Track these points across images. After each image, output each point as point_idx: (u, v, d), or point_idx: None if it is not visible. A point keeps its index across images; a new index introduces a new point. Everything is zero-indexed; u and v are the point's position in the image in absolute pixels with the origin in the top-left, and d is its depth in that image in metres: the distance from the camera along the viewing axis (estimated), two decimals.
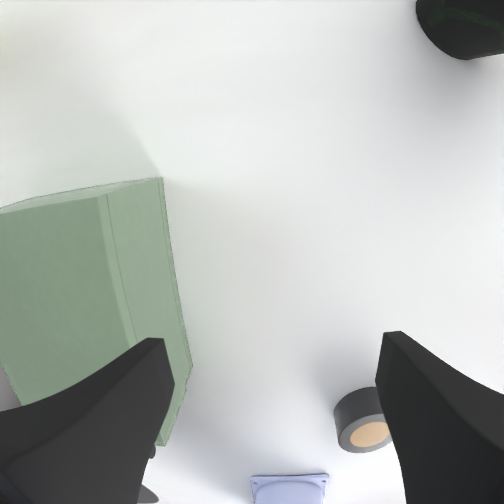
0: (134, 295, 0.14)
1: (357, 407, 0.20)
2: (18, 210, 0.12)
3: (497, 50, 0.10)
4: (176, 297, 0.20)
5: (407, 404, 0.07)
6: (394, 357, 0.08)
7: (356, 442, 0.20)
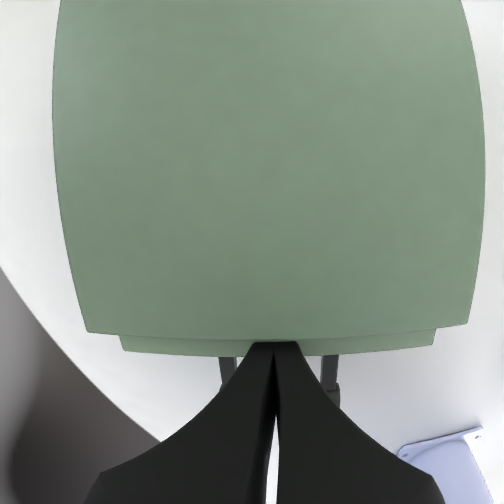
0: None
1: None
2: None
3: None
4: None
5: (279, 416, 0.07)
6: (275, 366, 0.08)
7: None
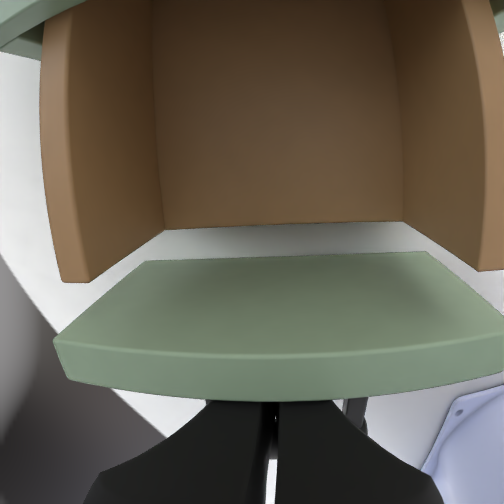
0: None
1: None
2: None
3: None
4: None
5: (278, 416, 0.07)
6: None
7: None
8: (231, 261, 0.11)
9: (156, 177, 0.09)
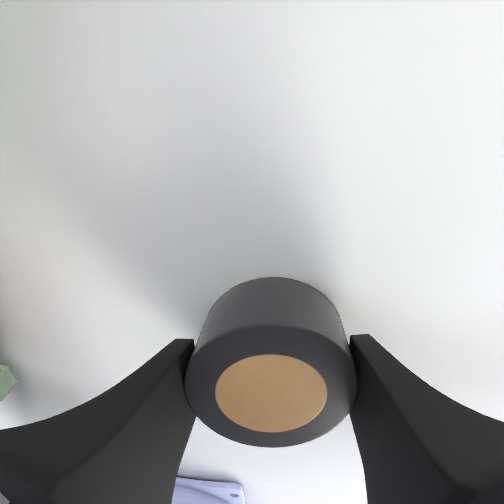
0: None
1: (228, 312, 0.09)
2: None
3: None
4: None
5: (369, 410, 0.07)
6: (358, 361, 0.08)
7: (238, 415, 0.09)
8: None
9: None
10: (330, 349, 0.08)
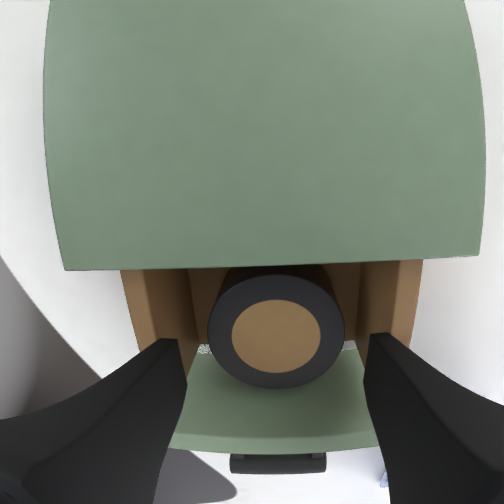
0: None
1: (242, 270, 0.12)
2: None
3: None
4: None
5: (391, 407, 0.07)
6: (379, 359, 0.08)
7: (250, 356, 0.11)
8: None
9: (193, 317, 0.14)
10: (322, 296, 0.10)
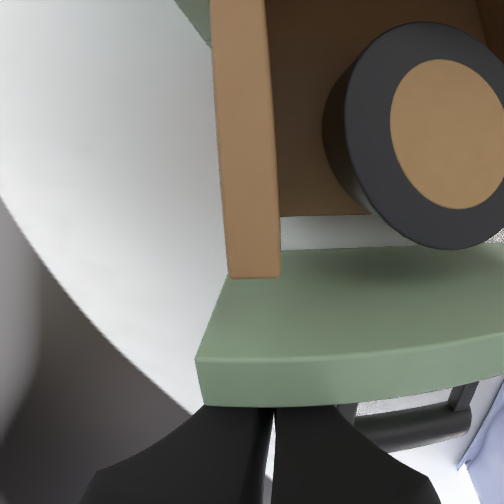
0: None
1: None
2: None
3: None
4: None
5: (276, 416, 0.07)
6: None
7: (419, 167, 0.05)
8: (342, 252, 0.10)
9: None
10: (503, 72, 0.04)
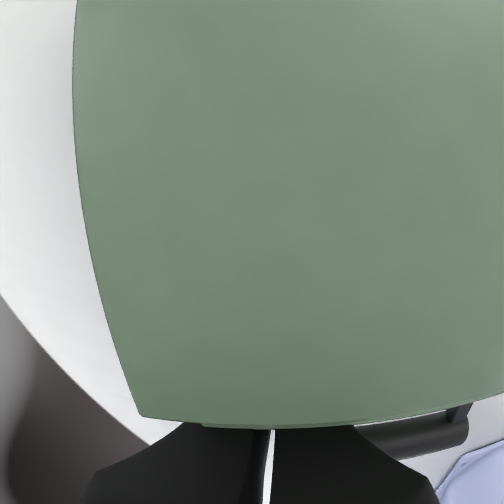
0: None
1: None
2: None
3: None
4: None
5: None
6: None
7: None
8: None
9: None
10: None
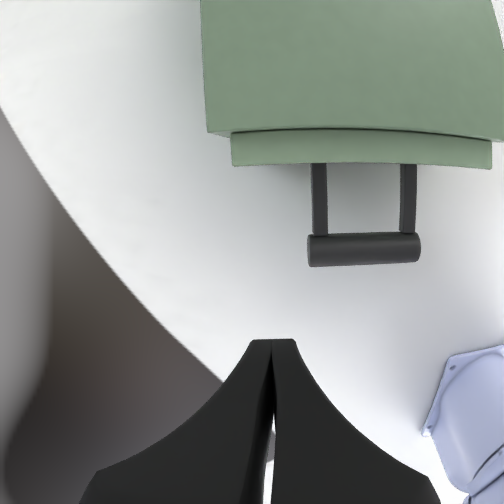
0: None
1: None
2: None
3: None
4: None
5: (276, 416, 0.07)
6: (272, 366, 0.08)
7: None
8: None
9: None
10: None
